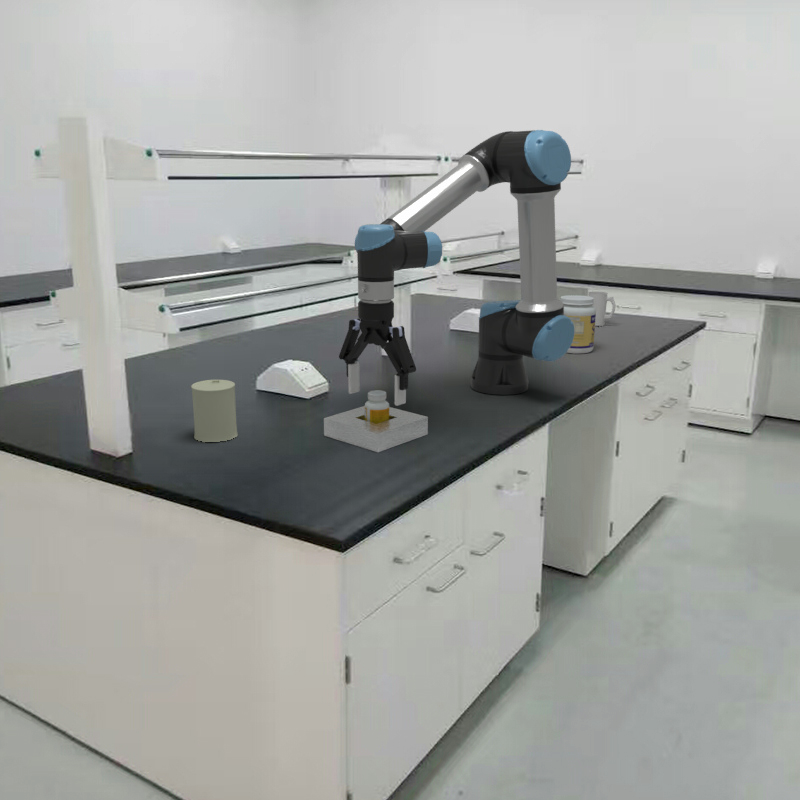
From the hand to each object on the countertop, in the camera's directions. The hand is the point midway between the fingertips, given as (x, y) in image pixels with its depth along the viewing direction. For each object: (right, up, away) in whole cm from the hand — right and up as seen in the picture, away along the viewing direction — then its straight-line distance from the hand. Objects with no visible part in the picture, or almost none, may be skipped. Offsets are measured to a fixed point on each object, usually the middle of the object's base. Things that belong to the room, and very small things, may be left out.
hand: (376, 398), depth 180 cm
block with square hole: (0, -8, +2) cm, 8 cm away
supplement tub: (+60, +15, +86) cm, 106 cm away
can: (-35, -8, +1) cm, 36 cm away
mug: (+78, +27, +126) cm, 150 cm away
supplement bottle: (0, -8, +2) cm, 9 cm away
